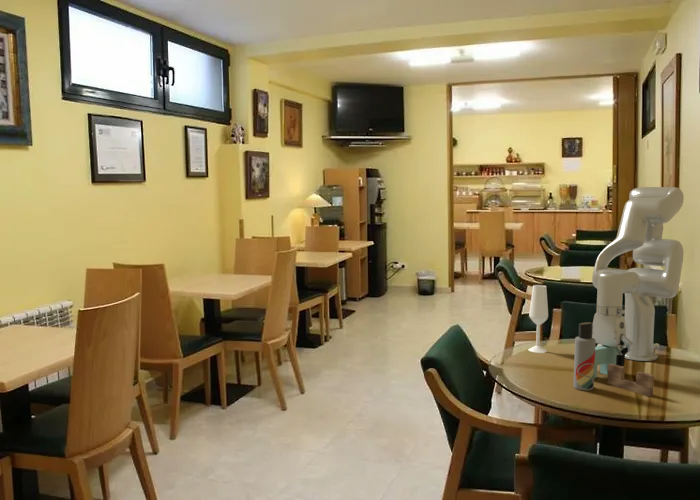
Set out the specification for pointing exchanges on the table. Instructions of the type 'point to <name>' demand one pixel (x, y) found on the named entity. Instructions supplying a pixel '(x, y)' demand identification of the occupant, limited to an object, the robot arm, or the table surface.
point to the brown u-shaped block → (640, 386)
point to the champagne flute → (538, 313)
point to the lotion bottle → (584, 358)
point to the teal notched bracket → (604, 358)
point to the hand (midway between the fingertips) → (606, 362)
